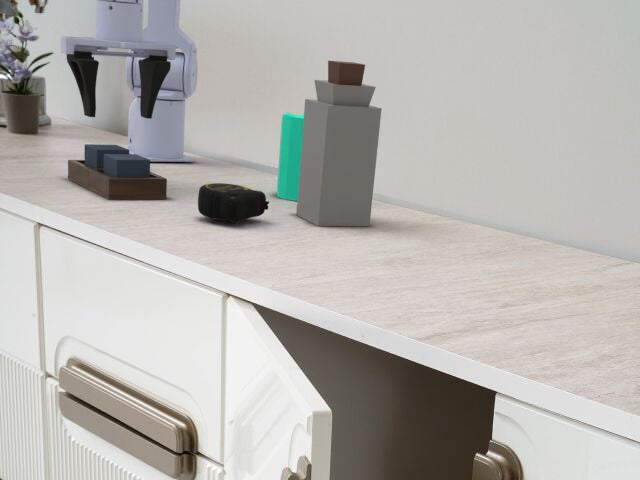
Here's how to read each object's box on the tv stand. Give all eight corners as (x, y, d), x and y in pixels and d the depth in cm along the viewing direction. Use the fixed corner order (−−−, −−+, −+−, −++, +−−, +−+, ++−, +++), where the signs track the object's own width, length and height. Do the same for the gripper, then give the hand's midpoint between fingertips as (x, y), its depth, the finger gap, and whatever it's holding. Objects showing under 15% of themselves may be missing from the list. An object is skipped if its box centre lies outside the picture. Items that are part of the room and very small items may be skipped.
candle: (323, 196, 152) (331, 103, 147) (318, 203, 147) (327, 107, 142) (279, 191, 153) (286, 98, 148) (273, 198, 147) (280, 102, 142)
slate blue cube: (84, 175, 146) (84, 144, 145) (116, 175, 148) (116, 144, 147) (96, 181, 143) (96, 149, 141) (128, 181, 145) (129, 149, 143)
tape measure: (232, 228, 126) (234, 194, 125) (184, 218, 129) (186, 185, 128) (267, 222, 131) (270, 189, 130) (221, 212, 135) (223, 180, 133)
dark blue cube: (103, 186, 141) (103, 153, 140) (135, 186, 143) (136, 154, 142) (116, 193, 138) (116, 159, 136) (149, 192, 140) (150, 159, 138)
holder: (67, 179, 147) (67, 159, 146) (122, 179, 151) (122, 160, 150) (108, 199, 136) (109, 178, 135) (166, 199, 140) (167, 178, 139)
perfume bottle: (296, 214, 138) (308, 58, 130) (346, 215, 140) (360, 62, 133) (317, 225, 132) (331, 63, 125) (369, 226, 135) (385, 67, 128)
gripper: (74, -1, 132) (74, 119, 137) (187, 8, 139) (183, 122, 145) (54, -4, 137) (55, 112, 143) (164, 5, 145) (161, 115, 150)
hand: (118, 116), depth 144 cm, fingers open, 7 cm apart
